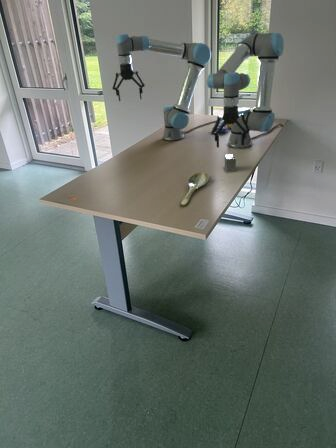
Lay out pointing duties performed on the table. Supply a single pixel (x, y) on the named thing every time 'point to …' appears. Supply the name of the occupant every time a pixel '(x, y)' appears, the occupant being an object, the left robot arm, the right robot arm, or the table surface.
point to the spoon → (195, 184)
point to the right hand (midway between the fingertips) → (230, 145)
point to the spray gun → (223, 127)
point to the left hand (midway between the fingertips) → (130, 99)
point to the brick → (230, 163)
